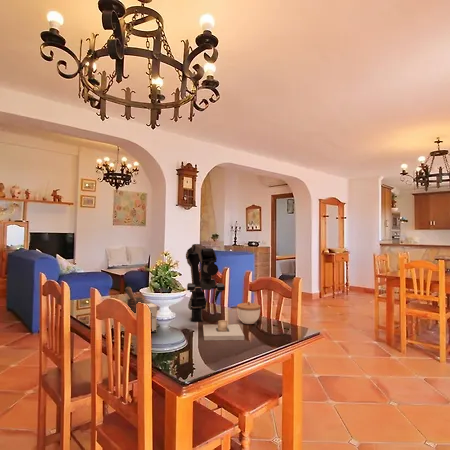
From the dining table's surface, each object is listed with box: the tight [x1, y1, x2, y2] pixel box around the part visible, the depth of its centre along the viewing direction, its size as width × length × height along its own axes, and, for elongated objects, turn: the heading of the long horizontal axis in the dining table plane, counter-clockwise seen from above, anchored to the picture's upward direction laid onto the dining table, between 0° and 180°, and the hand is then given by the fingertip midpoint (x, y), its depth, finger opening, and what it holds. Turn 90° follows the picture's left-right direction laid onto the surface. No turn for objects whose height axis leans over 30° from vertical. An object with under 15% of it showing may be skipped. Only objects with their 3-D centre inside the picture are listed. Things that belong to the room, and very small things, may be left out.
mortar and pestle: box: [124, 286, 145, 313], centre depth 167 cm, size 12×9×20 cm
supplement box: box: [146, 303, 158, 331], centre depth 156 cm, size 7×7×13 cm
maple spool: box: [217, 319, 228, 332], centre depth 154 cm, size 4×4×6 cm
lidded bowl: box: [236, 301, 261, 325], centre depth 176 cm, size 13×13×11 cm
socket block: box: [202, 323, 245, 341], centre depth 154 cm, size 18×18×2 cm
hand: (205, 304), depth 164 cm, fingers open, 9 cm apart
